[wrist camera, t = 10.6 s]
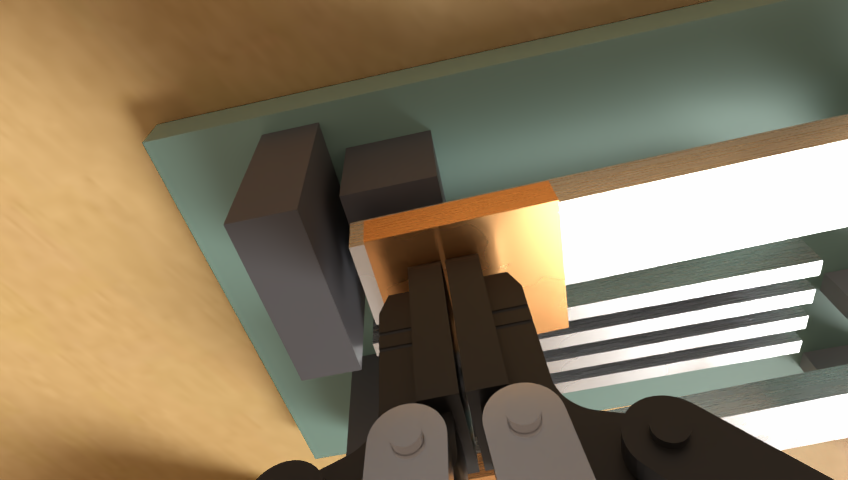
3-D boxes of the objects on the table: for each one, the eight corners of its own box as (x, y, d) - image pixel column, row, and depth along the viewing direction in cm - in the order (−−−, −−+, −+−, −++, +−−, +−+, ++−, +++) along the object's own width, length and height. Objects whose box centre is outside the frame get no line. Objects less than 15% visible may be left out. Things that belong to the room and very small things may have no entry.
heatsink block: (756, 188, 17) (825, 252, 14) (741, 286, 19) (797, 358, 17) (373, 263, 18) (370, 338, 15) (401, 348, 20) (403, 426, 18)
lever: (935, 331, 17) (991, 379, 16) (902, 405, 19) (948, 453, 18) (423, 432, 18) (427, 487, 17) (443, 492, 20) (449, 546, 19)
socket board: (1040, -73, 14) (1374, -28, 10) (885, 335, 23) (1018, 469, 18) (156, 124, 16) (57, 246, 11) (318, 434, 25) (301, 579, 20)
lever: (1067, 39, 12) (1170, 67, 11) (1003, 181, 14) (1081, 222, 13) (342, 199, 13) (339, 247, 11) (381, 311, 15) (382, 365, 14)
